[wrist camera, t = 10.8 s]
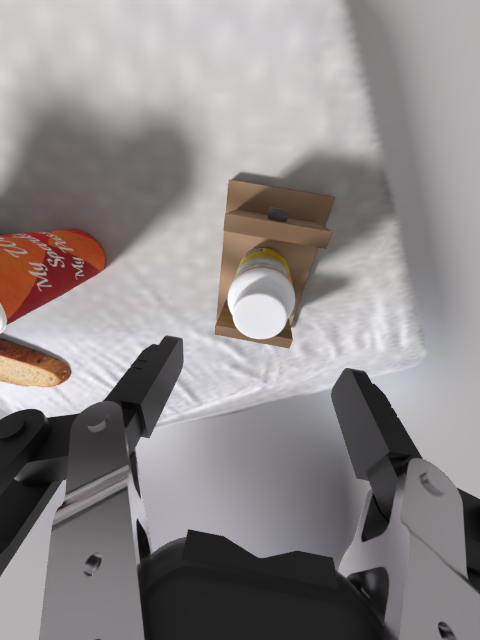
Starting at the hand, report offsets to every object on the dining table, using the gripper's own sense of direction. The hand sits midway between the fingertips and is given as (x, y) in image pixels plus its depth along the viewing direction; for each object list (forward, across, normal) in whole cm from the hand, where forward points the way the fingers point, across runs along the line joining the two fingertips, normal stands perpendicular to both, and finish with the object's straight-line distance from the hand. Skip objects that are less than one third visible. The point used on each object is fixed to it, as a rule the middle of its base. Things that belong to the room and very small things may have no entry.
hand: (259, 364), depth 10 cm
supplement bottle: (+15, 0, 0) cm, 15 cm away
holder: (+16, 0, 0) cm, 16 cm away
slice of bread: (+17, +45, +26) cm, 55 cm away
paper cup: (+17, +23, +2) cm, 28 cm away
